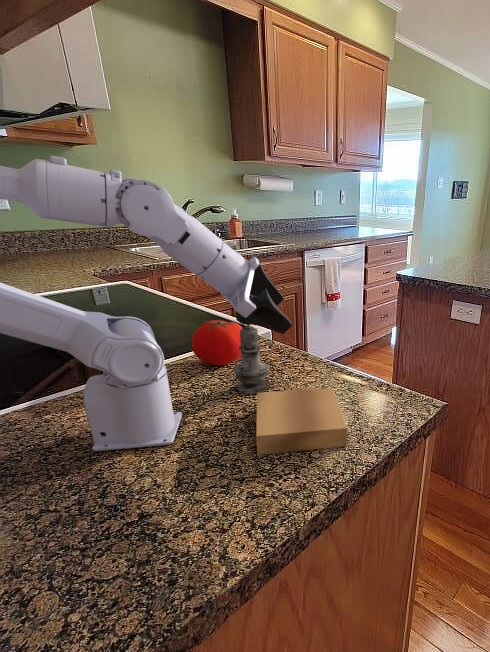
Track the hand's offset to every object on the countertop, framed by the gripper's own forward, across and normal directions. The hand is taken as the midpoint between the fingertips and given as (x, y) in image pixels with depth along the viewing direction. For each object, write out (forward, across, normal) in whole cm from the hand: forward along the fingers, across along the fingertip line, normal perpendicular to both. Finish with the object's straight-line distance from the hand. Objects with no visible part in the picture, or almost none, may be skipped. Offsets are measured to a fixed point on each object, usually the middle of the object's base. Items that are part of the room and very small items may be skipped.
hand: (283, 315), depth 61 cm
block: (+8, -13, +8) cm, 17 cm away
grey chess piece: (+7, +2, +15) cm, 16 cm away
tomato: (+6, +14, +20) cm, 25 cm away
